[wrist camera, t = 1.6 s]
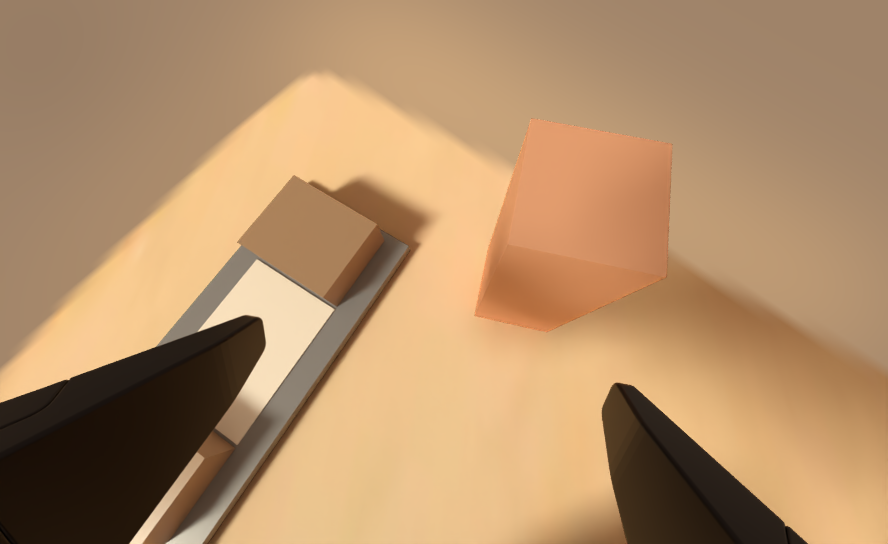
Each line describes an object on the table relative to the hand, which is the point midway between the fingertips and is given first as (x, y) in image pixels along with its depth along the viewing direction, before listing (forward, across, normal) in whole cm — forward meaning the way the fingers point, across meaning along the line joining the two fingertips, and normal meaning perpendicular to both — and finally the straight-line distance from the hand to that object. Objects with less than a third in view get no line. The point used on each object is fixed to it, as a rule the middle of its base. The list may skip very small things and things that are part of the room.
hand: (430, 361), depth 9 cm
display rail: (+8, +11, +9) cm, 16 cm away
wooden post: (+13, -4, +4) cm, 14 cm away
